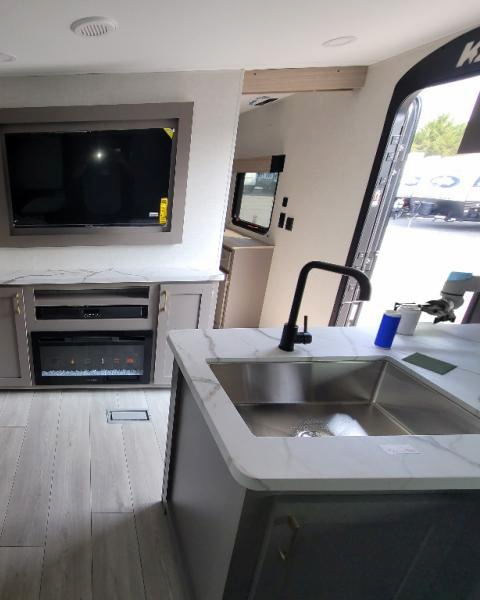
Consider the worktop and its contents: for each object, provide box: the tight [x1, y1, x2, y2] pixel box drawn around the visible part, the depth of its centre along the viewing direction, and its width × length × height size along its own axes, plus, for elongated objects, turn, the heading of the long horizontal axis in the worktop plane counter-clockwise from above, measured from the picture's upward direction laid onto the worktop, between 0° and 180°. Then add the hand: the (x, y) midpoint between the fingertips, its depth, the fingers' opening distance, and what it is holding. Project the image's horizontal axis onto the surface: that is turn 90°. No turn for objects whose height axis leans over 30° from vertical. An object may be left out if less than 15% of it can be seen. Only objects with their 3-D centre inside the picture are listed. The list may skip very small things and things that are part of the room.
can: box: [396, 304, 422, 336], centre depth 139 cm, size 8×8×12 cm
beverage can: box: [373, 309, 402, 350], centre depth 128 cm, size 5×5×15 cm
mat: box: [401, 351, 458, 375], centre depth 118 cm, size 11×11×1 cm
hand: (414, 315), depth 141 cm, fingers open, 13 cm apart
